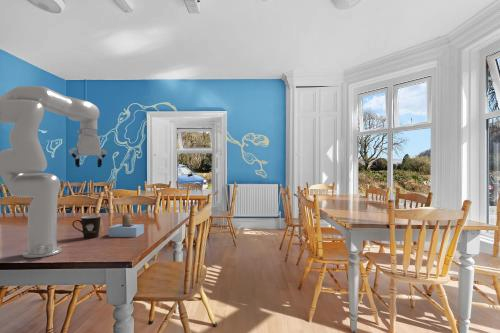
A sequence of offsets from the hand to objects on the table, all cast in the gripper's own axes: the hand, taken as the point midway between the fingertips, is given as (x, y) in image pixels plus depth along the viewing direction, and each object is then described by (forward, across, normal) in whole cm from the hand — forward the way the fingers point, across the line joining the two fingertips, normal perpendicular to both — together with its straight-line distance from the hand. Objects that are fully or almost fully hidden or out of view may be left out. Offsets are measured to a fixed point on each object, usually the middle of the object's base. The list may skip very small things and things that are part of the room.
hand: (88, 167), depth 152 cm
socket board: (+34, +15, -11) cm, 39 cm away
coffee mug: (+34, -1, -4) cm, 35 cm away
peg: (+34, +15, -11) cm, 39 cm away
